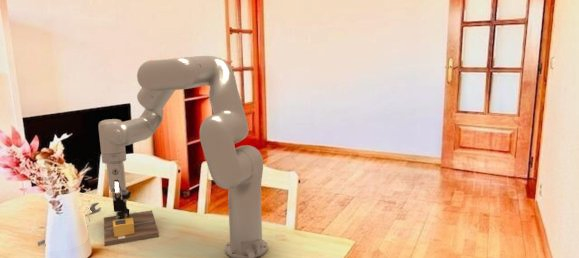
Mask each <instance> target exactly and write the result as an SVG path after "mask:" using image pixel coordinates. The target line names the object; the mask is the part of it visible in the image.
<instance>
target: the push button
mask: <svg viewBox="0 0 579 258" xmlns="http://www.w3.org/2000/svg"><path fill="white" fill-rule="evenodd" d="M119 190H120V189H119ZM115 194H116V193H115ZM131 194H132V191H129V189H128V188H126V190H125V191H124V190H122V199H123V201H124V211H119V212H115V213H116V215H115V216H116V217H115V218H116V220H121V219H124V218H127V217H128V216H129V214H130V208H128V207H127V200H129V198H131Z"/></svg>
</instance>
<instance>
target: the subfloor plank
mask: <svg viewBox="0 0 579 258" xmlns="http://www.w3.org/2000/svg"><path fill="white" fill-rule="evenodd" d="M115 217H116V215H111V216H105V217H103V231H104V232H103V236H104V237H103V241H104V242H103V243H104V247H107V246H113V245H118V244H125V243H130V242H136V241H140V240H142V241H143V240H147V239H154V238H159V236H160V235H159V230H158V229H159V228H158V226H157V222H156V219H155V215H154V213H153V210H151V209H150V210H144V211H139V212H132V213H129V216H128V217H127V218H133V222H134V232H135V234H130V235H125V236H119V237H114V230H113V221H114V220H116V218H115ZM127 218H124V219H127Z"/></svg>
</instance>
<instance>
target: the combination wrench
mask: <svg viewBox="0 0 579 258" xmlns="http://www.w3.org/2000/svg"><path fill="white" fill-rule="evenodd" d="M99 204H100V203H99V202H94V203H92V204H91V205H90V207H89V208H90V210H91V211H92V213H91V214H96V213H99V211H101V209H102V207H100V206H99V207H98V208H97V209H96V206H98V205H99Z"/></svg>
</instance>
